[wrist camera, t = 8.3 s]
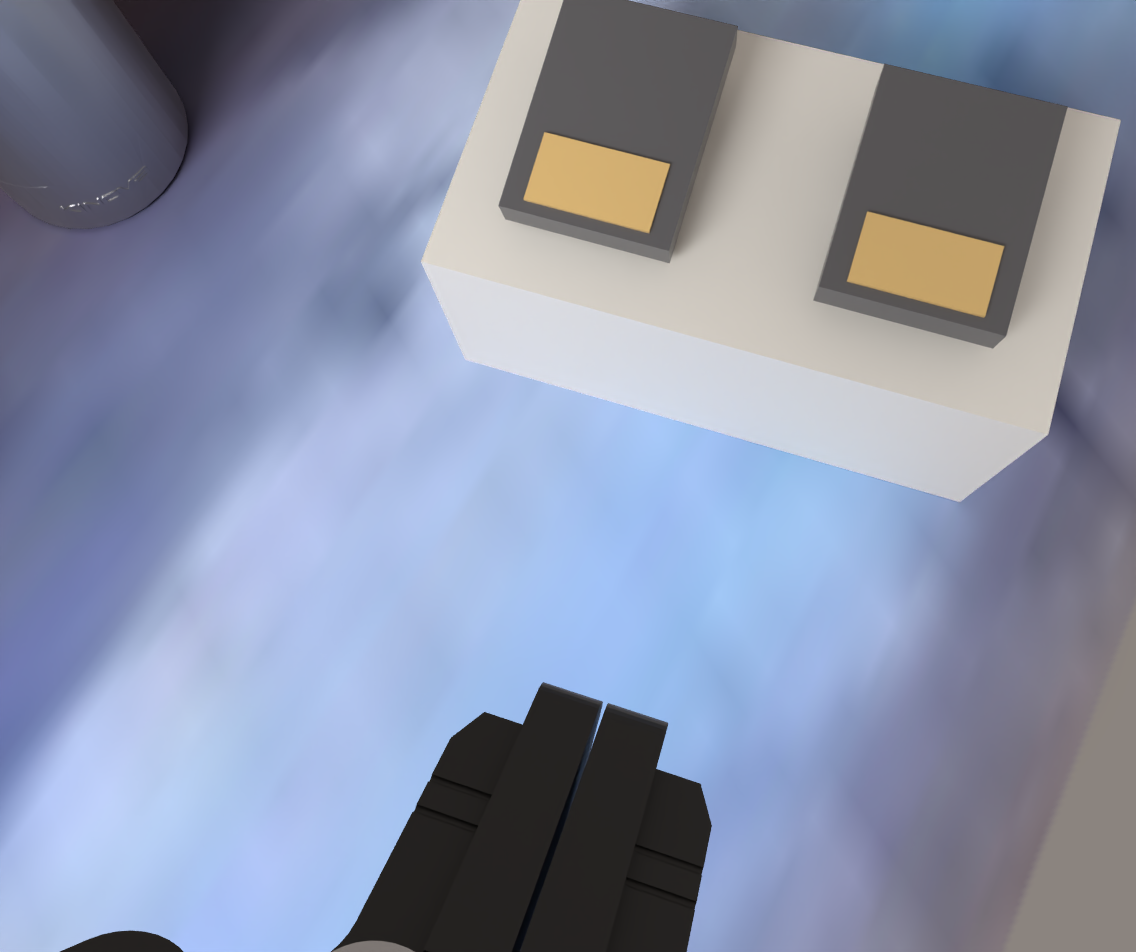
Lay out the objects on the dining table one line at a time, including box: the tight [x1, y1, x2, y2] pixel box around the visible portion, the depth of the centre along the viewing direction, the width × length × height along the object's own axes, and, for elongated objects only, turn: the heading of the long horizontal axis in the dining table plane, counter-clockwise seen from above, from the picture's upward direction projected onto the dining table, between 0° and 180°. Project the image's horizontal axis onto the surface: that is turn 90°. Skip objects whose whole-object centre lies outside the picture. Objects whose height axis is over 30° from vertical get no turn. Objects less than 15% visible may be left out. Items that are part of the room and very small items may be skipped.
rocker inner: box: [498, 0, 738, 263], centre depth 37 cm, size 6×8×2 cm
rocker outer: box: [813, 64, 1068, 349], centre depth 35 cm, size 6×8×2 cm
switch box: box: [421, 0, 1121, 502], centre depth 42 cm, size 22×12×11 cm, turn 72°
